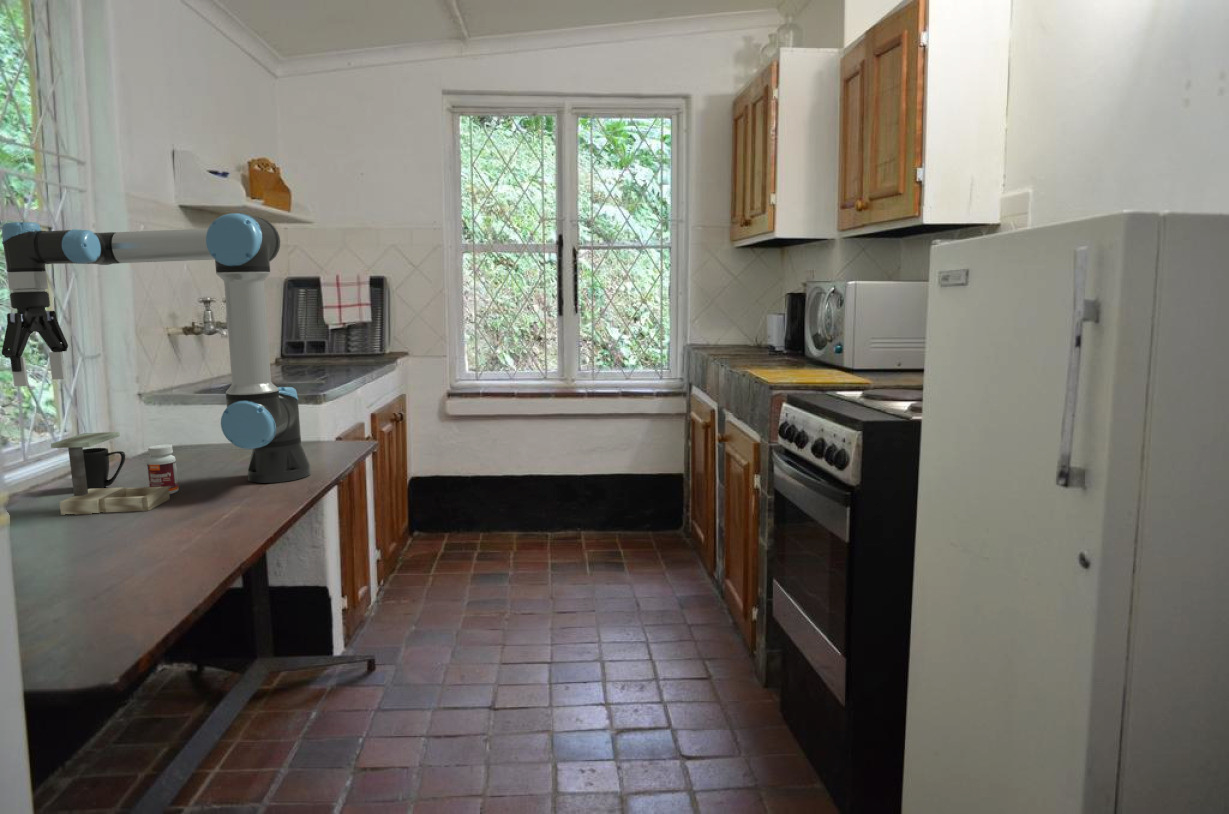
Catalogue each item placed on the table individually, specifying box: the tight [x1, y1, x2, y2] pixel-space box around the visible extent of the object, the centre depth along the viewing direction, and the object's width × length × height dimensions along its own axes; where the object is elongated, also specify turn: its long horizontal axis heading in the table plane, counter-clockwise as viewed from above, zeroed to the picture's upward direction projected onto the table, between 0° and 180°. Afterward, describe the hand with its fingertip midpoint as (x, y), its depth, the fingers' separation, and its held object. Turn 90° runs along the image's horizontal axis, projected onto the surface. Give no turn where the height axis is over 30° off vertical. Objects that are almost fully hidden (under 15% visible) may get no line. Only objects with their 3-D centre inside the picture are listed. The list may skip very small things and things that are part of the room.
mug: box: [83, 447, 126, 489], centre depth 218 cm, size 8×12×10 cm
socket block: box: [50, 431, 171, 516], centre depth 199 cm, size 18×13×16 cm
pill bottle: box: [146, 444, 180, 495], centre depth 211 cm, size 6×6×11 cm
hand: (40, 382), depth 206 cm, fingers open, 13 cm apart
